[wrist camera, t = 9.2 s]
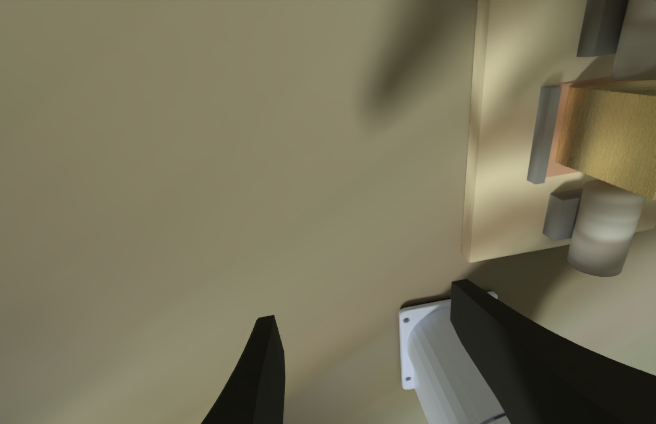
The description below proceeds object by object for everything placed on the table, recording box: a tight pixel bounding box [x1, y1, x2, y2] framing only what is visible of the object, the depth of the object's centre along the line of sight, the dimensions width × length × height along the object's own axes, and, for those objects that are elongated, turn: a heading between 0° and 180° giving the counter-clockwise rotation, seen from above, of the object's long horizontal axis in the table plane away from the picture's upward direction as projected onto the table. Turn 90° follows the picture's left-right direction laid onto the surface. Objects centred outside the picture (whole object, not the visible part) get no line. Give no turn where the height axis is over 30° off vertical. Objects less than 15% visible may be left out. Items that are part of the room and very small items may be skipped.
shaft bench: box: [461, 0, 656, 277], centre depth 18 cm, size 17×14×5 cm
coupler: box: [554, 80, 656, 200], centre depth 17 cm, size 4×4×6 cm
